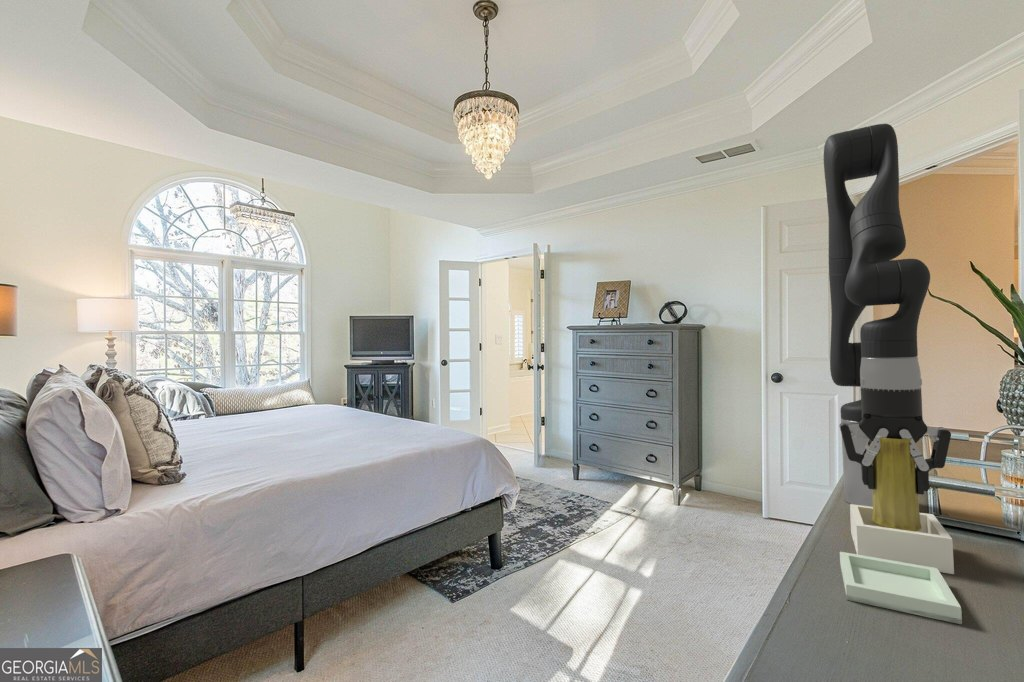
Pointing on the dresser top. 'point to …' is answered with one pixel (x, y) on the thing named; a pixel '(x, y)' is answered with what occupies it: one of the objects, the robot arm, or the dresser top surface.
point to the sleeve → (902, 541)
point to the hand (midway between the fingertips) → (894, 489)
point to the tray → (899, 587)
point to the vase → (895, 486)
